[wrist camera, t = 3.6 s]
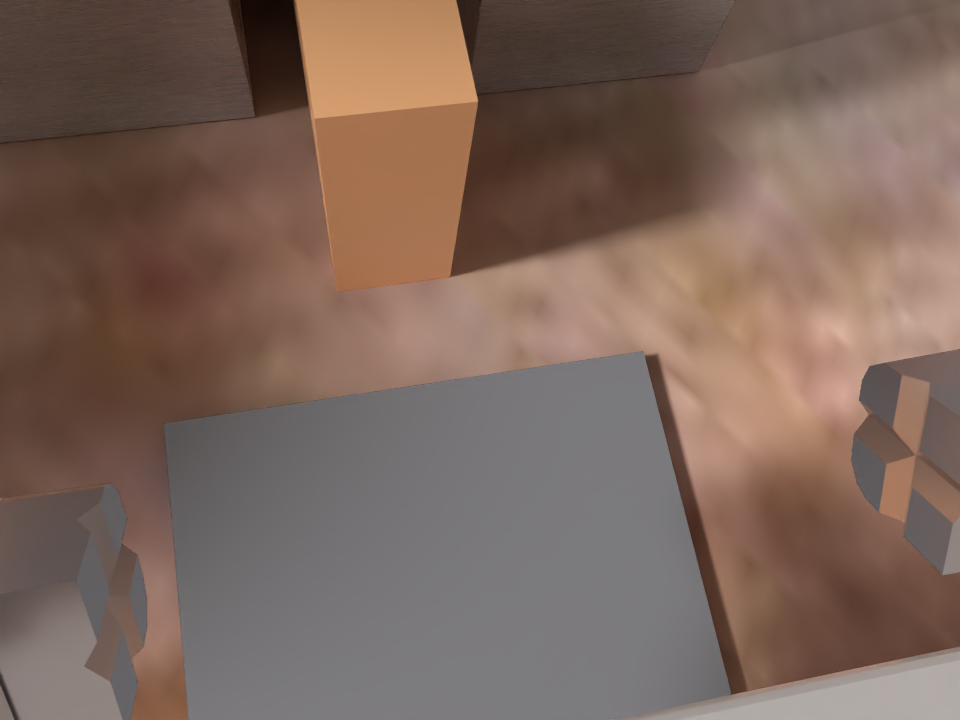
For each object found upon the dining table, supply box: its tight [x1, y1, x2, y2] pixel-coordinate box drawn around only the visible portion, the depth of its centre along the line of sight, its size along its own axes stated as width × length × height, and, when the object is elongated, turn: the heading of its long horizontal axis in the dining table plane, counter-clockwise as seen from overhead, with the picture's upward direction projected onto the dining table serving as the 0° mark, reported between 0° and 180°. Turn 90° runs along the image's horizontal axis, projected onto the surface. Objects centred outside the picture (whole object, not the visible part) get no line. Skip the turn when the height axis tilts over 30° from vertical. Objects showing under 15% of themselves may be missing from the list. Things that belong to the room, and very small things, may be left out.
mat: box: [164, 351, 732, 720], centre depth 21 cm, size 12×12×1 cm
